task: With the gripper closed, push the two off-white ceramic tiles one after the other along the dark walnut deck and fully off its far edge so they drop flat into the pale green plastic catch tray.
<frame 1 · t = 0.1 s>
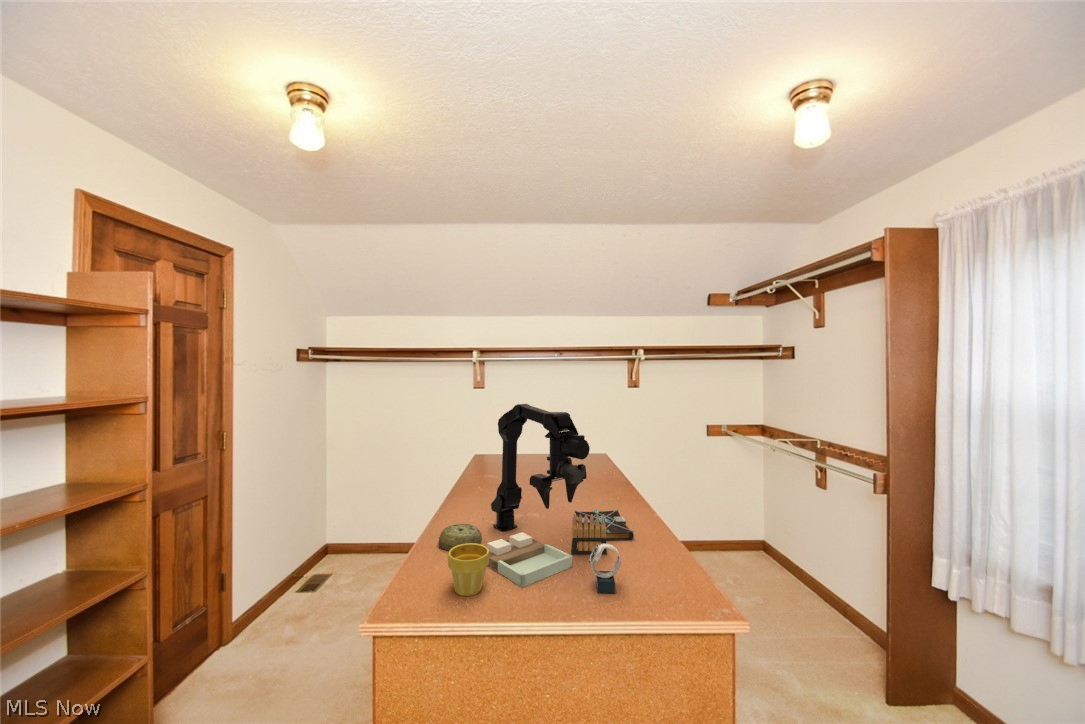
hand: (558, 505, 133), 15 cm above the table, fingers open, 9 cm apart
catch tray: (535, 569, 122), on the table
deck: (512, 556, 130), on the table
plant pot: (468, 590, 111), on the table
ammunition clip: (588, 554, 132), on the table
tile a: (520, 543, 134), point 2 cm above the table, touching deck
tile b: (499, 550, 129), point 2 cm above the table, touching deck
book: (601, 530, 153), on the table
watch: (604, 589, 112), on the table
weight: (460, 544, 140), on the table
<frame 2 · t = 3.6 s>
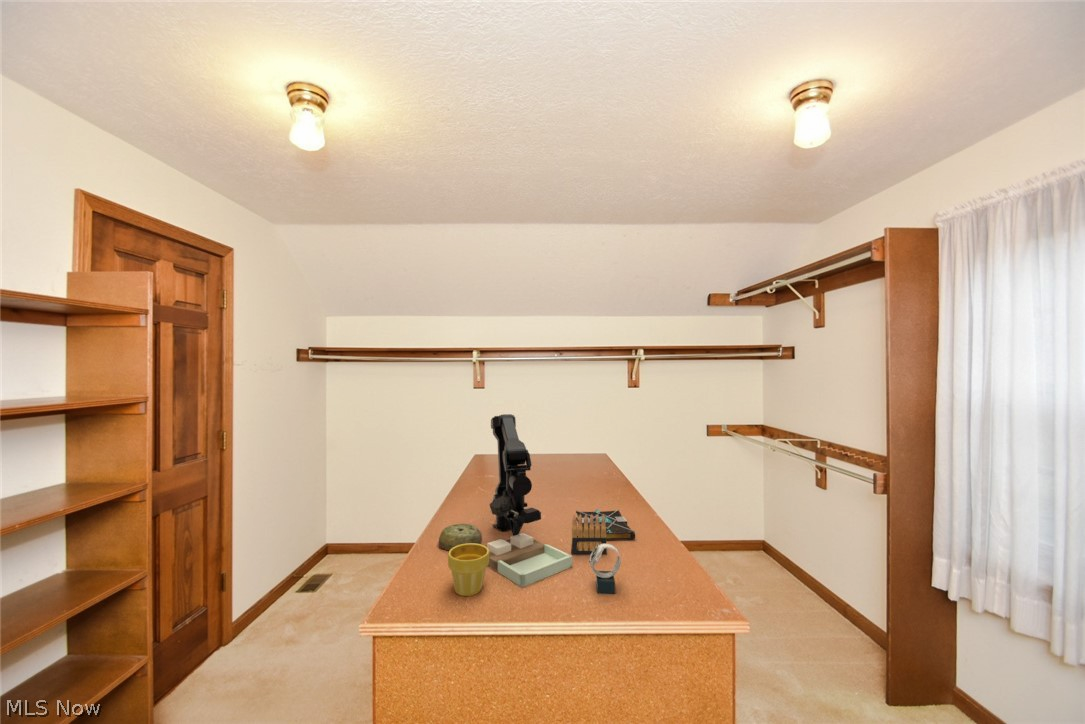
hand: (515, 536, 136), 4 cm above the table, fingers closed
tile a: (521, 543, 133), point 3 cm above the table, touching gripper
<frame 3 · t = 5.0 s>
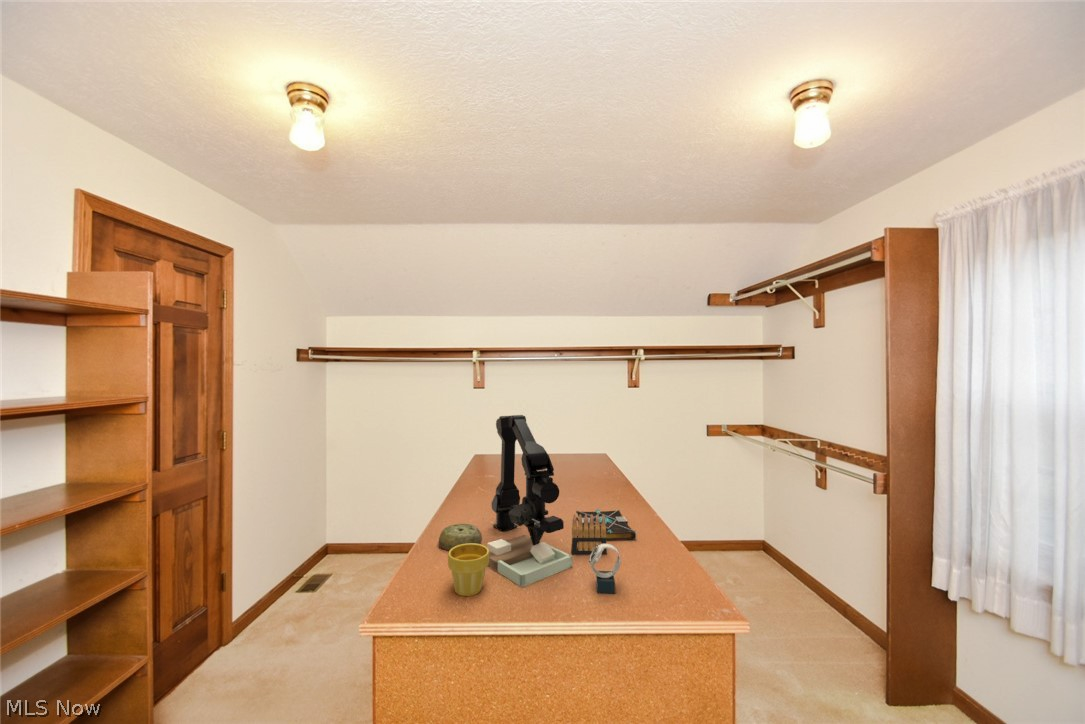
hand: (535, 546, 128), 4 cm above the table, fingers closed
tile a: (541, 555, 127), point 2 cm above the table, tilted 27°, touching catch tray, gripper
everything else where it was.
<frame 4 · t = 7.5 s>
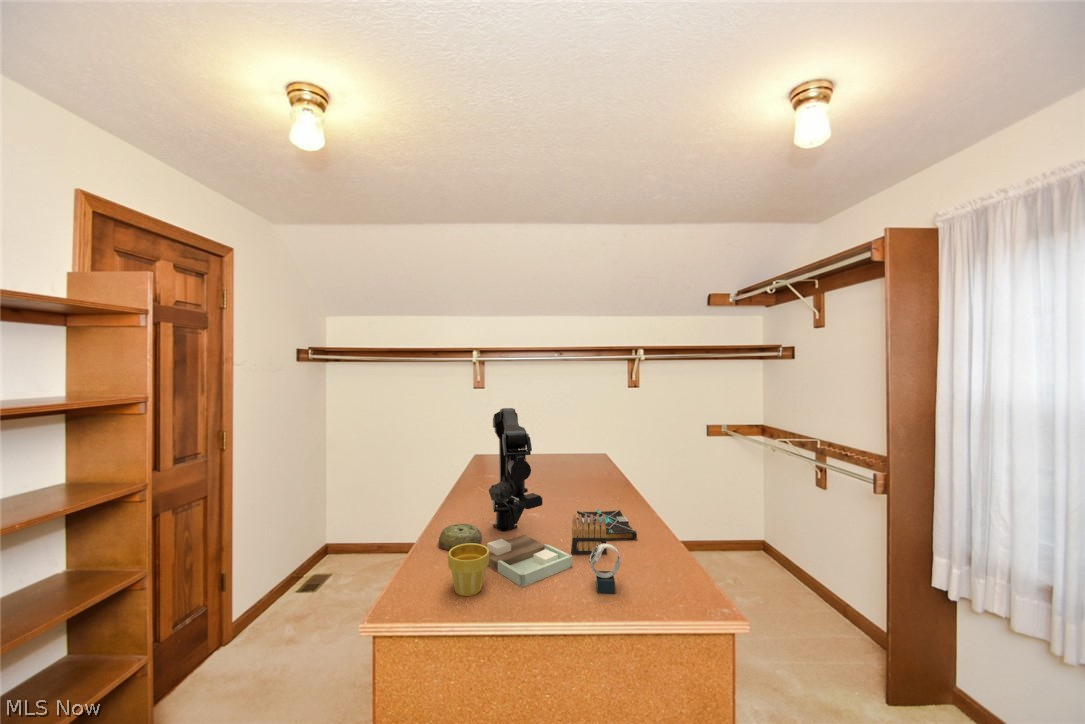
hand: (515, 523, 131), 10 cm above the table, fingers closed
tile a: (545, 561, 126), point 1 cm above the table, touching catch tray
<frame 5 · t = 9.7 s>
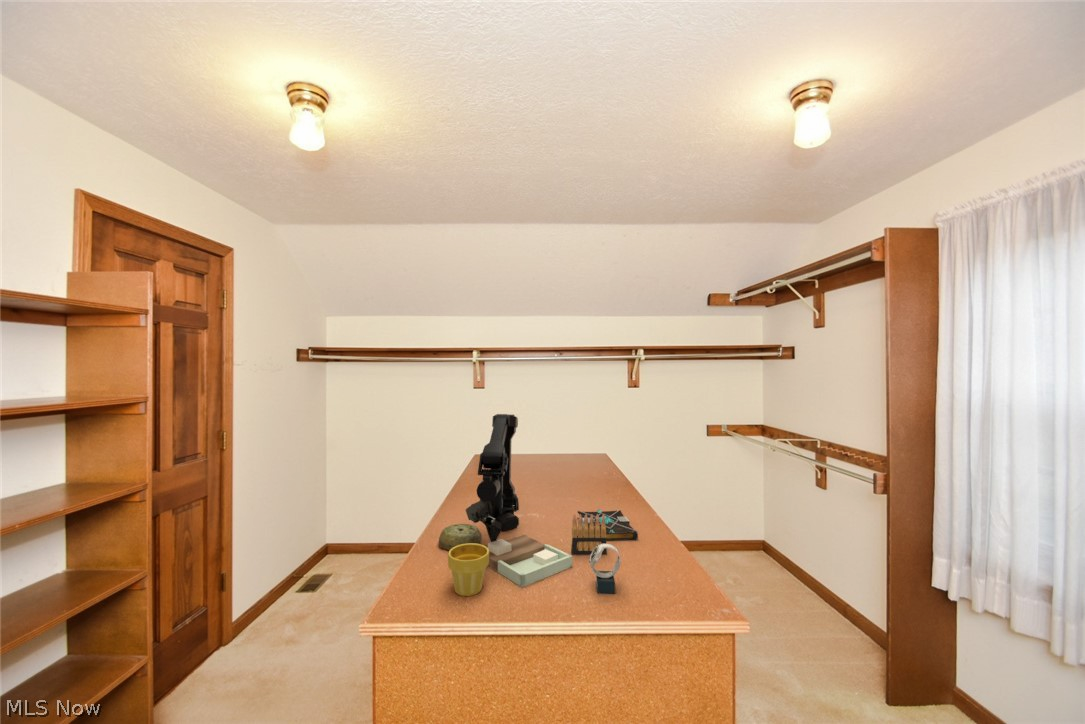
hand: (493, 543, 131), 4 cm above the table, fingers closed
tile b: (499, 550, 129), point 2 cm above the table, touching deck, gripper
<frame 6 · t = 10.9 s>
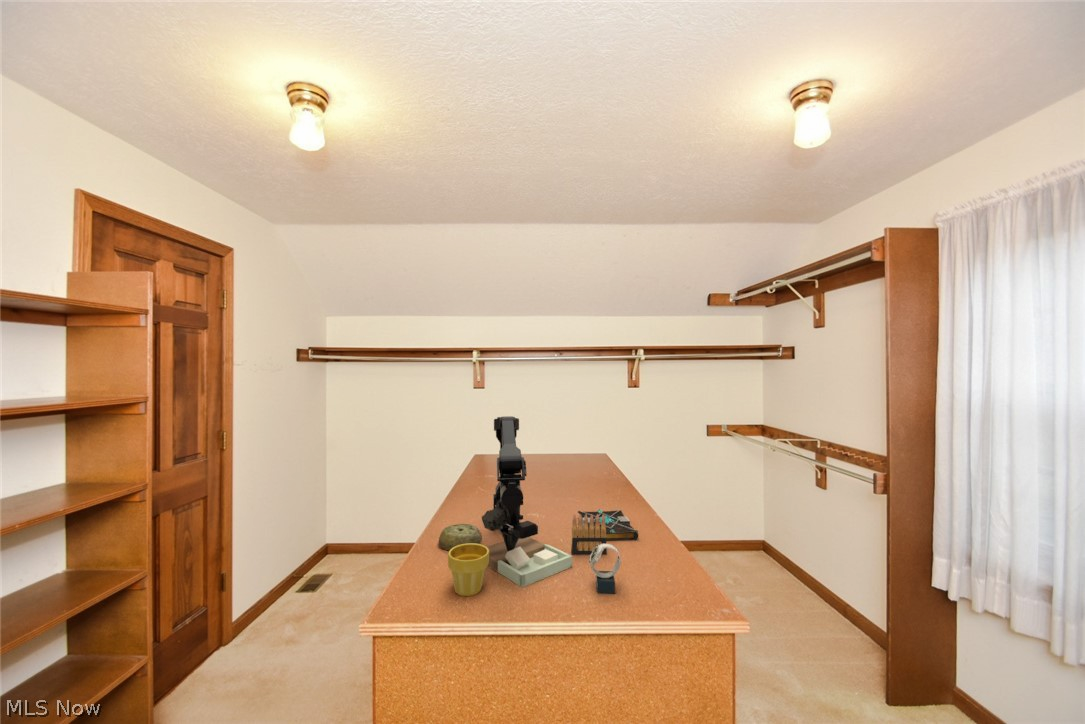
hand: (510, 552, 124), 4 cm above the table, fingers closed
tile b: (516, 560, 123), point 2 cm above the table, tilted 31°, touching gripper
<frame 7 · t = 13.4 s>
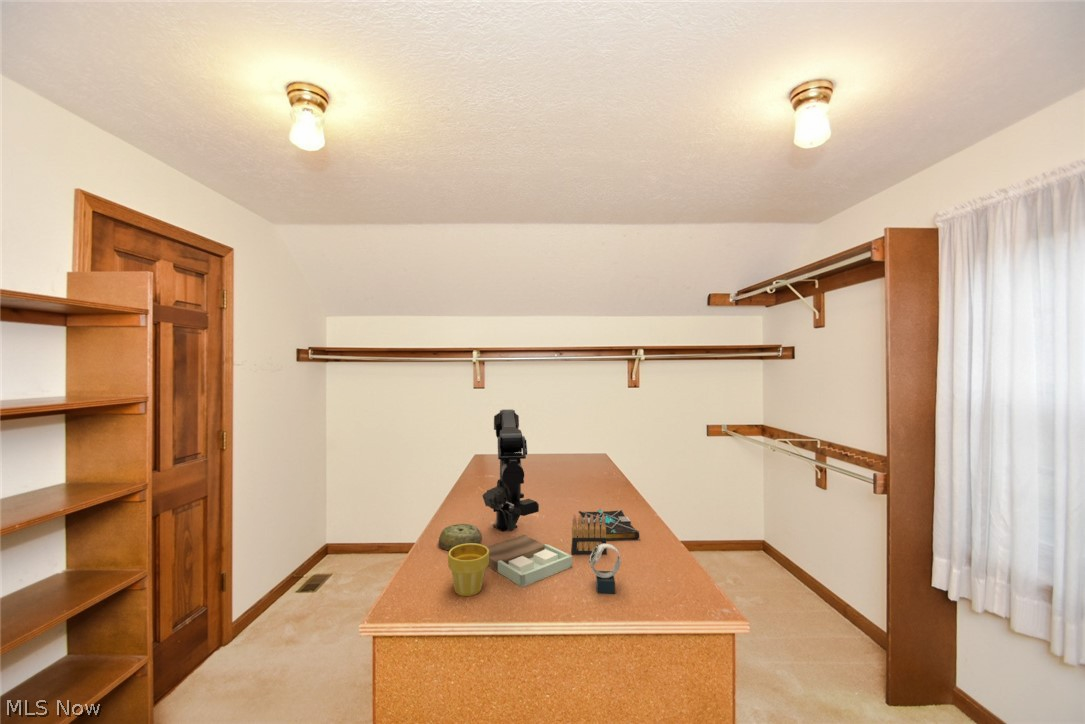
hand: (510, 530, 125), 10 cm above the table, fingers closed
tile b: (521, 568, 121), point 1 cm above the table, touching catch tray
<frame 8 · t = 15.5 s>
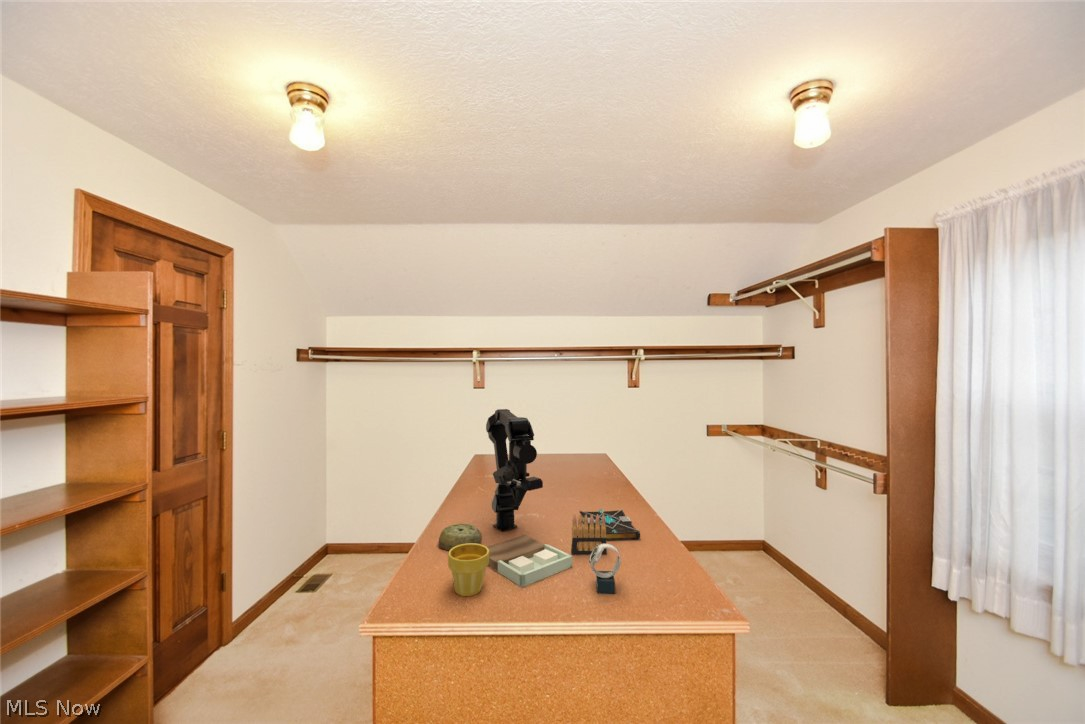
hand: (517, 505, 140), 12 cm above the table, fingers closed
at the end: tile a inside the target area (4.7 cm from its centre), point 0.6 cm above the table; tile b inside the target area (4.1 cm from its centre), point 0.6 cm above the table; tile b touching catch tray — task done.
